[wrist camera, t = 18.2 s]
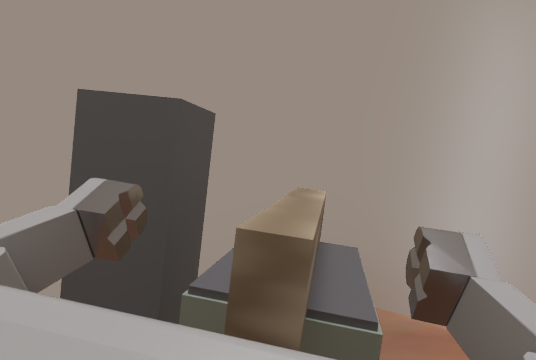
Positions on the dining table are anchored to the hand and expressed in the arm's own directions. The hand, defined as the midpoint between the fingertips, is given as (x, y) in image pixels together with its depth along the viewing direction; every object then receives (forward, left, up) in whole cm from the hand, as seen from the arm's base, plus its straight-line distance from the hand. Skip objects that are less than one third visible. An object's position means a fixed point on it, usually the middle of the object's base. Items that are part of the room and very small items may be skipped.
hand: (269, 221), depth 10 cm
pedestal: (+15, -19, -25) cm, 35 cm away
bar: (0, -11, -5) cm, 12 cm away
